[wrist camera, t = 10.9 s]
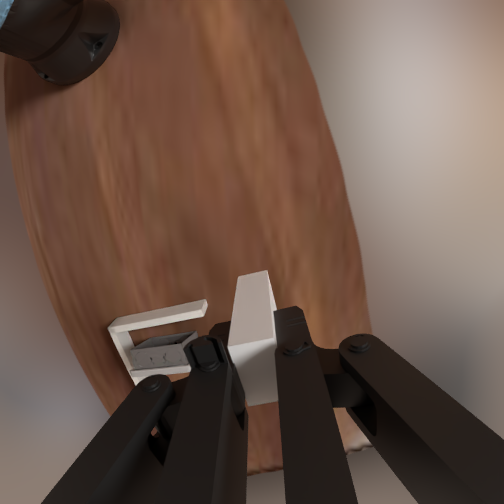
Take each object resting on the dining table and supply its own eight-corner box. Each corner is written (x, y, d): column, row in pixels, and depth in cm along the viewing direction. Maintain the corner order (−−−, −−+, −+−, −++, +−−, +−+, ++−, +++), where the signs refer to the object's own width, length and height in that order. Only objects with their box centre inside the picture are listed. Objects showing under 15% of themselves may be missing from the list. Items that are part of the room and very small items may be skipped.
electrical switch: (154, 358, 47) (133, 388, 37) (144, 329, 46) (120, 355, 37) (209, 350, 46) (197, 382, 37) (200, 319, 45) (185, 347, 36)
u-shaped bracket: (116, 317, 45) (107, 327, 41) (205, 299, 44) (201, 309, 40) (154, 396, 49) (149, 409, 45) (236, 386, 47) (235, 399, 44)
